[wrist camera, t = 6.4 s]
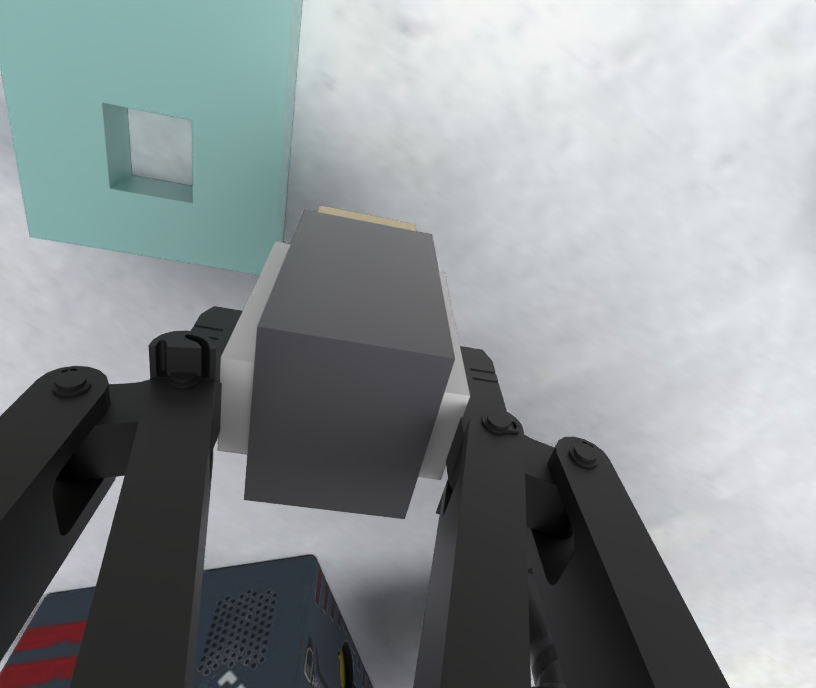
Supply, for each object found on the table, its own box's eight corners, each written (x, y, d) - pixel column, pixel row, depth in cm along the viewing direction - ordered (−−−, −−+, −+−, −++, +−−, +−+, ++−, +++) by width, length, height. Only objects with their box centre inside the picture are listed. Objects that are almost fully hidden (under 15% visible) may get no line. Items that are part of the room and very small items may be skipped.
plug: (398, 323, 22) (404, 519, 14) (300, 307, 21) (244, 500, 13) (426, 205, 19) (455, 358, 11) (315, 183, 19) (257, 326, 10)
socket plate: (281, 258, 35) (273, 277, 33) (57, 220, 34) (29, 236, 31) (317, -189, 24) (309, -213, 22) (-16, -280, 23) (-68, -318, 20)
